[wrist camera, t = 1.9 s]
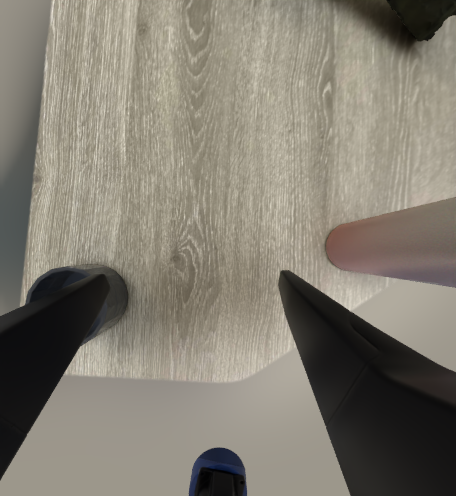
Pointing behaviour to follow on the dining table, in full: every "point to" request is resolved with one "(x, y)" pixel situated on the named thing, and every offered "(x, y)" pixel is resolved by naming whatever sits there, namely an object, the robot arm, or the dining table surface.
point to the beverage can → (400, 244)
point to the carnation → (423, 15)
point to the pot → (72, 274)
